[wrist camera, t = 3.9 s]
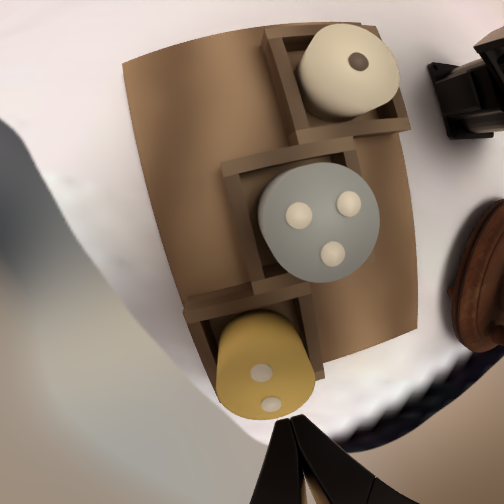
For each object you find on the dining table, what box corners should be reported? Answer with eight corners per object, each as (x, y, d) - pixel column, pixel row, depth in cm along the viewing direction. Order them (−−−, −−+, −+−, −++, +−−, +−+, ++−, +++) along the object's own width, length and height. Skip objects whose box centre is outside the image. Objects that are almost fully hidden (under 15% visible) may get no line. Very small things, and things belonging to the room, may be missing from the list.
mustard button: (291, 300, 16) (309, 337, 12) (304, 365, 17) (321, 409, 13) (208, 320, 16) (201, 363, 12) (231, 382, 17) (231, 429, 13)
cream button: (354, 51, 14) (383, 24, 10) (375, 118, 15) (412, 104, 11) (283, 56, 14) (297, 22, 10) (304, 127, 15) (327, 110, 11)
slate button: (334, 159, 14) (370, 153, 10) (351, 245, 15) (387, 266, 11) (247, 178, 14) (252, 176, 10) (268, 267, 15) (281, 297, 11)
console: (354, 29, 15) (373, 8, 11) (409, 321, 20) (431, 341, 17) (128, 69, 14) (109, 50, 11) (216, 378, 20) (215, 409, 17)
